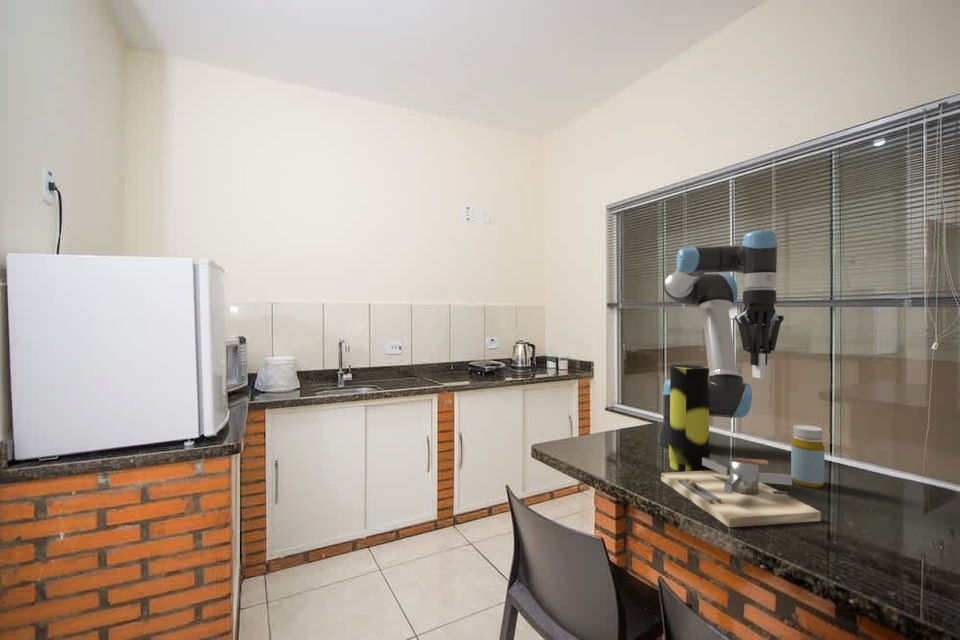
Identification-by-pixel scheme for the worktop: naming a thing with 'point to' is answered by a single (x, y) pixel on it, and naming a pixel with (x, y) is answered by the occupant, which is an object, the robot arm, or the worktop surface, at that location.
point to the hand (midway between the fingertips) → (758, 377)
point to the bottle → (807, 456)
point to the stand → (739, 500)
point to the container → (689, 417)
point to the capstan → (745, 475)
